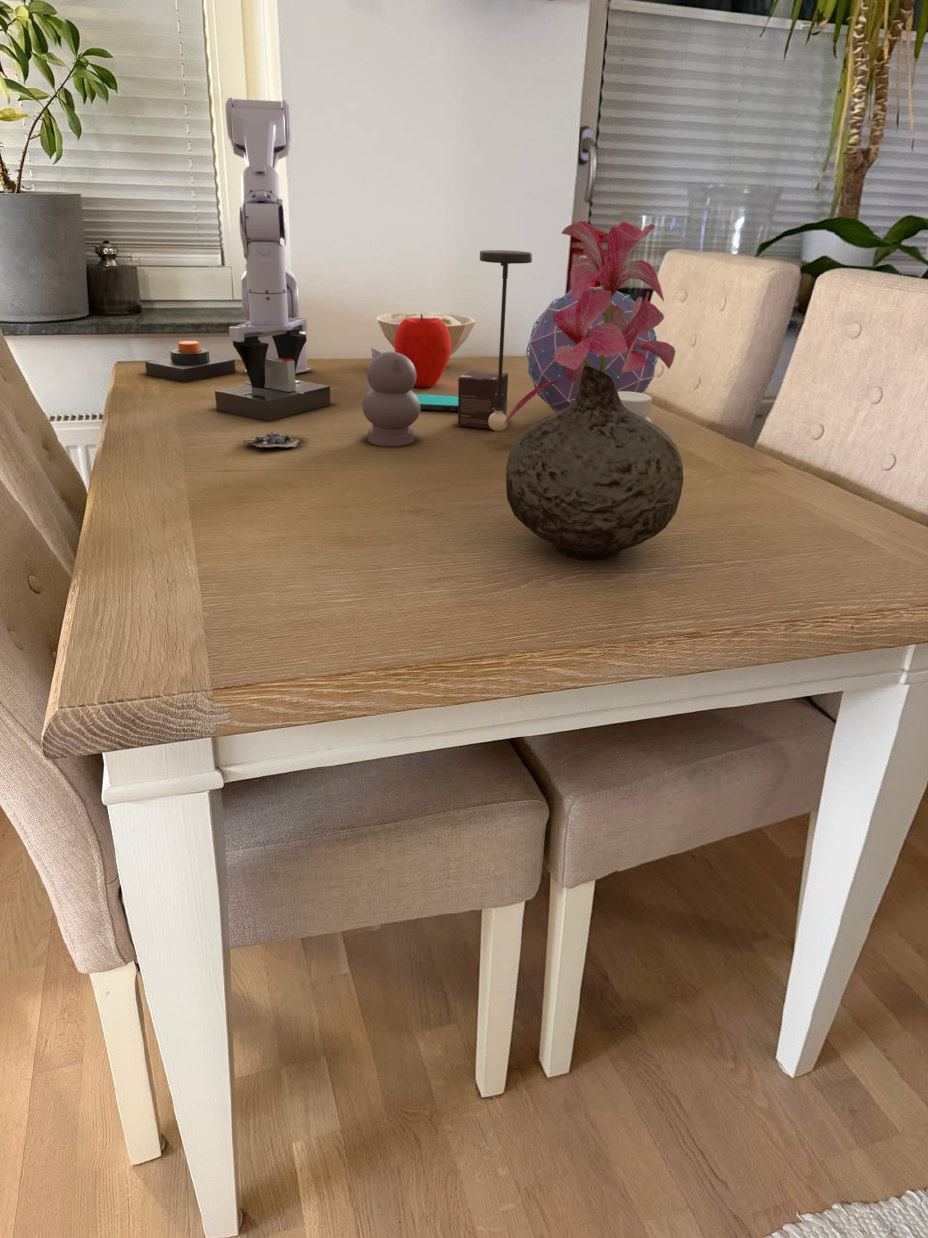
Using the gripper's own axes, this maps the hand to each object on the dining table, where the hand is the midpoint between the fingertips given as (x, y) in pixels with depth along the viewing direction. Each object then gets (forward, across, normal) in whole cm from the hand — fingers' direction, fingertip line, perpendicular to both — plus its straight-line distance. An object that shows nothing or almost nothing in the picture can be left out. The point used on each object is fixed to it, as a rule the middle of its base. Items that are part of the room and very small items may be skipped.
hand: (273, 384), depth 139 cm
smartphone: (+4, +18, -20) cm, 27 cm away
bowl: (+4, +44, +2) cm, 44 cm away
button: (0, +10, +30) cm, 32 cm away
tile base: (+4, 0, 0) cm, 4 cm away
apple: (+4, +29, -8) cm, 30 cm away
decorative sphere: (+4, +25, -42) cm, 49 cm away
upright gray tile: (+1, 0, 0) cm, 1 cm away
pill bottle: (+4, -5, -61) cm, 61 cm away
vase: (+4, -25, -66) cm, 71 cm away
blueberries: (+4, -16, -15) cm, 22 cm away
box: (+4, +12, -31) cm, 33 cm away
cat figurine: (+4, -4, -26) cm, 27 cm away
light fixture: (+4, +3, -39) cm, 39 cm away
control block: (+4, +10, +30) cm, 32 cm away
